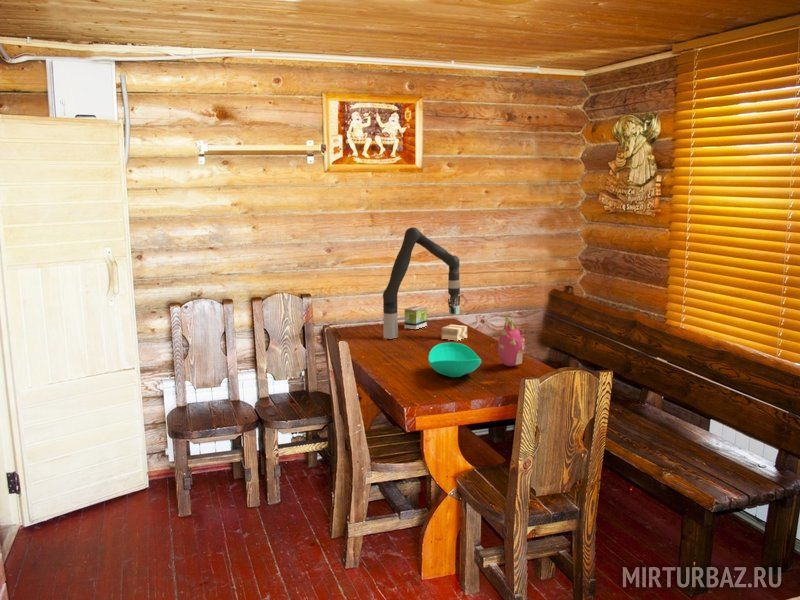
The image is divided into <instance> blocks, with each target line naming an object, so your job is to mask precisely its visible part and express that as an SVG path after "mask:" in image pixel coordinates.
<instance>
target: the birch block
mask: <svg viewBox="0 0 800 600" xmlns="http://www.w3.org/2000/svg"><path fill="white" fill-rule="evenodd" d="M464 338H466V339H467V338H468V326H467V325H461V324H453V323H452V324H449V325H446V326H443V327H441V340H443V339H448V340H447V341H450V340H454V341H453V342H457V341H458V340H460V341H462V340H461V339H463V340H465V339H464ZM458 342H459V341H458Z"/></svg>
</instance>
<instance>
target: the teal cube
mask: <svg viewBox="0 0 800 600" xmlns="http://www.w3.org/2000/svg"><path fill="white" fill-rule="evenodd" d="M448 314H449V315H451V316H452V315H454V316H456V315H459V314H460V305H458V306H454V314H451V308H450V307H449V306H448Z"/></svg>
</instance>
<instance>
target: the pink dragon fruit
mask: <svg viewBox="0 0 800 600" xmlns="http://www.w3.org/2000/svg"><path fill="white" fill-rule="evenodd" d="M504 317H505V319H504V320H505V321H504V327H503V328H502V329H503V330H502V331H501V333H500V335H499V336H498V337H499V338H498V342H497V352H498V356H499V359H500V361H501V362H502V364H503V365H504V366H507V367H514V366H516V365H521V364H523V358H524V357H523V356H524V350H525V348H526V344H525V337H523V335H524V328H522V331H520V330H518V324H517V323H516V324H515V322H514V321H513V320H512V319H511V320H510V318H509V317H508V313H507V312H506V313H505V315H504Z"/></svg>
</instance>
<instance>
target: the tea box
mask: <svg viewBox="0 0 800 600" xmlns="http://www.w3.org/2000/svg"><path fill="white" fill-rule="evenodd" d="M427 316H428V308H427V306H421V305H414V306H413V305H412V306H411V307H407V308H404V329H405V328H410V329H419V328H422V327H425V326H427V327H428V317H427ZM425 328H426V327H425ZM422 329H423V328H422ZM419 330H420V329H419Z"/></svg>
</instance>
